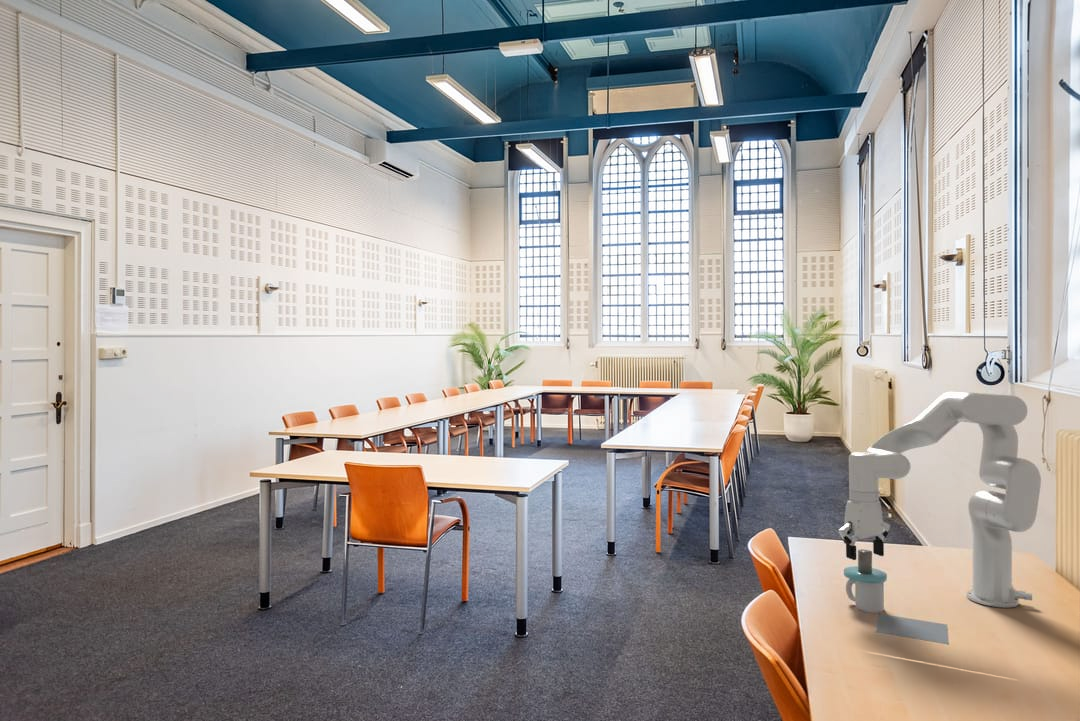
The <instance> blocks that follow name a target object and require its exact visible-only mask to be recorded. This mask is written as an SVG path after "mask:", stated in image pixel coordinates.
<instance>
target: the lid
mask: <svg viewBox="0 0 1080 721" xmlns="http://www.w3.org/2000/svg"><path fill="white" fill-rule="evenodd" d="M843 576H844V577H845V578H847V579H848V580H849V579H852V580H855V581H859V582H866V583H881V582H884V583H885V582H887V581H888V575H887V573H886V572H885V571H883V570H880V569H877V568H874V567H873V550H872V551H871V550H869V549H858V550H857V565H856V566H854V565H853V566H847V567H844V569H843Z"/></svg>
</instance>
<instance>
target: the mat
mask: <svg viewBox="0 0 1080 721" xmlns="http://www.w3.org/2000/svg"><path fill="white" fill-rule="evenodd" d="M875 632H876V633H880V634H886V635H892V636H899V637H905V638H910V639H916V640H922V641H926V642H927V641H928V642H933V643H939V644H945V645H949V644H950V643H949V633H948V624H946V623H941V622H934V621H933V622H932V621H927V620H921V619H915V618H909V617H902V616H898V615H896V616H895V615H892V614H891V615H890V614H884V613H879V614H878V619H877V624H876V630H875Z"/></svg>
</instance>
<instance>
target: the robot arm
mask: <svg viewBox="0 0 1080 721" xmlns="http://www.w3.org/2000/svg"><path fill="white" fill-rule="evenodd" d="M1027 416H1028V406H1027V404H1026V402H1025V401H1024V400H1023V399H1022V398H1020V397H1019V396H1016V395H1013V394H1011V395H1010V394H1000V393H999V394H997V393H986V392H985V393H980V392H969V391H947V392H944V393H942V394H941V395H939V397H937V399H935V400H934V401H932V403H931V404H930V405H928V406H927V407H926V408H925V409H924V410H923V411H922V412H920V413H919V414H918V415H917V416H916V417H915V418H913V420H911V421H910V422H908V423H905V424H903V425H901V426H899V427H897V428H895V429H892V430H891V431H888V432H887V433H885V434H884V435H882V436H880V437H879V438H878V439H877V440H875V441H874V443H872V444H871V445H870V446H869V447H868V448H867V449H866V450H865V451H855V452H851V453H850V454H849V456H848V486H849V487H848V491H849V492H848V493H849V500H846V501H847V502H846V503H845V504H846V505H845V511H844V525H843V526H842V527H841V528H839V529H838V534H839V536H840V539H841V541H842V542H843V543H844V544H845V556H846V558H847V559H850V560H853V561H856V560H857V546H856V545H855V544H856V543H857V541H858V539H865V538H874V539H872V540H873V541H872V546H873V550H872V554H874V555H878V556H879V557H884V555H885V550H884V549H885V548H884V547H885V546H884V542H886V539H887V536H888V535H889V530H890V528H891V524H889V523H887V522H885V521H884V518H883V511H882V504H881V501H880V498H879V497H880V496H881V492H880V491H879V488H880V486H879V479H887V480H888V479H889V480H900V479H903V478H905V477H906V476H907V475H908V474H909V473H910V472H911V468H912V467H911V462H910V460H909V459H908V458H907V456H905V455H903V454H902V453H904V452H907V451H909V450H914V449H918V448H925V447H929V446H931V445H934V444H936V443H938V442H940V441H941V439H943V438H944V437H945V436H946V434H948V433H949V432H950V431H952V429H953V428H954V427H956V426H957V425H958V424H960V423H961V422H963V423H970V424H977V425H978V427H979V429H980V430H981V433H982V438H983V439H982V449H981V454H980V455H981V457H980V462H979V469H978V470H979V472H978V474H979V475H978V476H979V478H980V481H981V482H982V483H984V484H986V486H987V485H988V486H991V487H994V488H998V489H1003V490H1004V491H1005V493H1001V492H997V491H994V490H980V491H977V492H975V493H973V494H972V496H971V497H970V498H969V501H968V505H967V506H968V514H969V518H970V522H971V529H972V530H971V531H972V589H969V590H967V591H966V597H967V598H968V599H969V600H970V601H973V602H975V603H978V604H980V605H984V606H988V607H989V606H990V607H995V608H1016V607H1018V606H1019V603H1020V601H1019V600H1025V601H1033V593H1030V592H1026V591H1025V590H1017V589H1016V588H1014V586H1013V563H1012V562H1013V559H1012V558H1013V551H1012V550H1013V541H1012V536H1011V534H1010V532H1013V533H1014V532H1015V533H1024V532H1027V531H1029V530H1030V529H1031V528H1032V527H1033V525H1034V524H1035V521H1036V517H1037V512H1038V506H1039V499H1040V491H1041V485H1042V483H1041V482H1042V479H1041V478H1042V477H1041V473H1040V471H1039V468H1038V467H1037V466H1036V464H1034V463H1033V462H1032V461H1030V460H1028V459H1025V458H1021V457H1018V453H1019V452H1018V450H1019V437H1018V432H1017V430H1016V428H1015V426H1017V425H1019V424H1021V423H1022V422H1024V420H1025V419H1026V417H1027Z"/></svg>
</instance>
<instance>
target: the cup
mask: <svg viewBox="0 0 1080 721" xmlns="http://www.w3.org/2000/svg"><path fill="white" fill-rule="evenodd" d="M845 583H846V584H845V592H846V595H847V597H848V599H849V600H850V601H852V602H854V603H855V608H856V609H858V610H860V611H862V612H867V613H875V614H876V613H881V612H884V610H885V609H884V608H885V598H884V597H885V595H884V594H885V589H884V583H885V582H881V583H866V582H859V581H855V580H852V579H849V578H848V579H847V581H846V582H845ZM853 585H855V587H854V589H855V590H854V591H855V592H854V594H853V589H852V588H853Z"/></svg>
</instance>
